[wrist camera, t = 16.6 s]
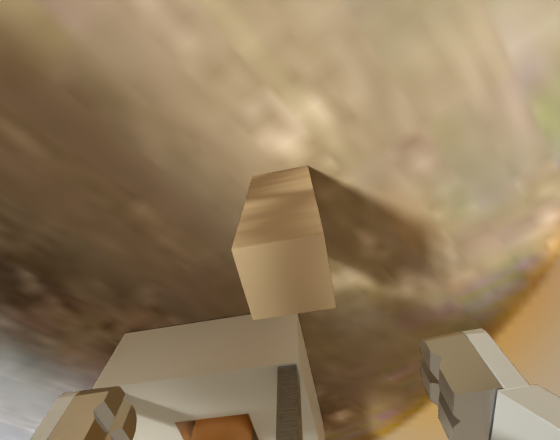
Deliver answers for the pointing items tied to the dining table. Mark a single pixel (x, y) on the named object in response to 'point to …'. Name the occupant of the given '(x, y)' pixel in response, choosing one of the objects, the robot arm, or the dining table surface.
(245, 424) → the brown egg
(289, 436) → the guard frame
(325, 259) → the wooden toy block
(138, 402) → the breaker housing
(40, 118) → the dining table surface
